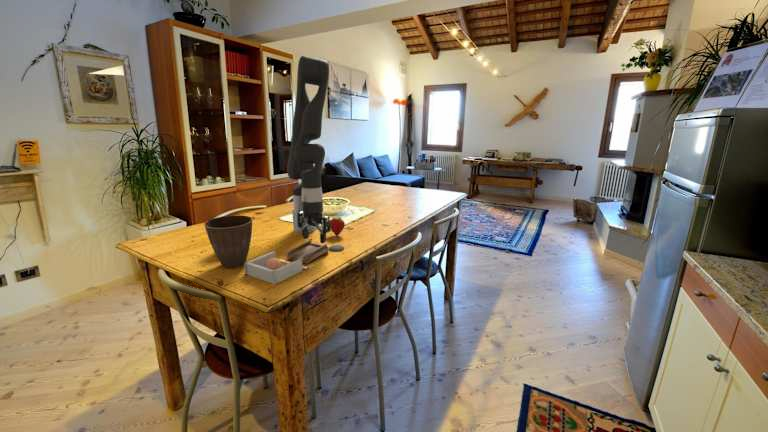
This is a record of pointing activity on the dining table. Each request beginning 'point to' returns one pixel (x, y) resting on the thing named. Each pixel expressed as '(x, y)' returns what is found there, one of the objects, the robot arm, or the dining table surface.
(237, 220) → the plant pot
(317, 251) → the walnut ramp
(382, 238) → the dining table surface
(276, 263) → the rubber ball
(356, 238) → the dining table surface
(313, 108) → the robot arm
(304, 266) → the painted line
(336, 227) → the strawberry
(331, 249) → the coaster
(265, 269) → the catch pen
